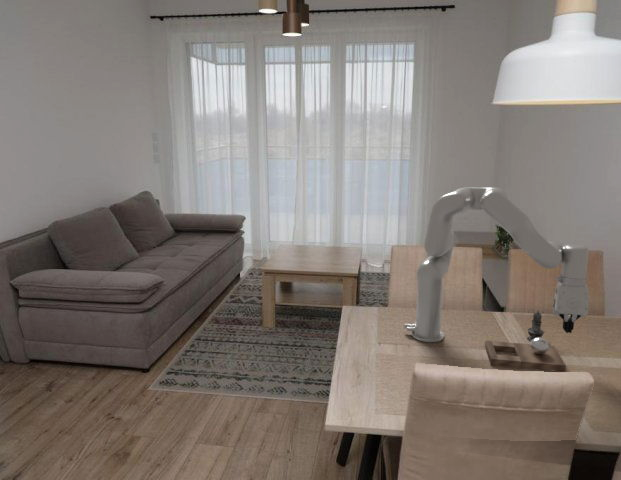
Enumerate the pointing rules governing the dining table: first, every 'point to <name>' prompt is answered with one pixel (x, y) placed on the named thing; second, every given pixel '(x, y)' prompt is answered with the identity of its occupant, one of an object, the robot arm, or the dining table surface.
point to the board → (523, 356)
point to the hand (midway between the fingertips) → (567, 331)
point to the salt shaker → (535, 327)
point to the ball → (539, 345)
